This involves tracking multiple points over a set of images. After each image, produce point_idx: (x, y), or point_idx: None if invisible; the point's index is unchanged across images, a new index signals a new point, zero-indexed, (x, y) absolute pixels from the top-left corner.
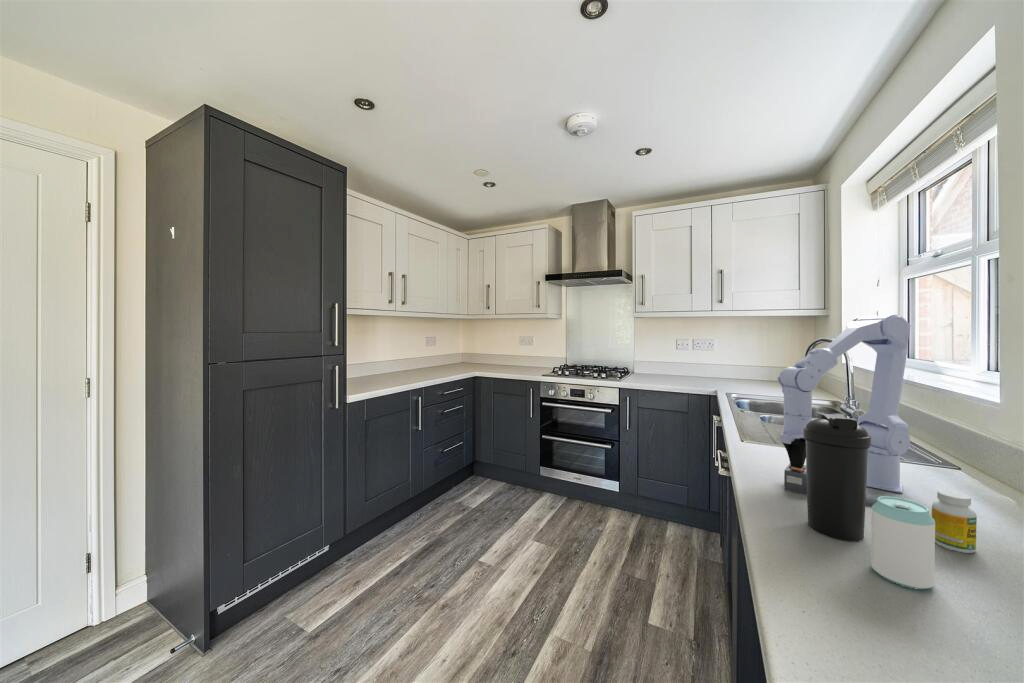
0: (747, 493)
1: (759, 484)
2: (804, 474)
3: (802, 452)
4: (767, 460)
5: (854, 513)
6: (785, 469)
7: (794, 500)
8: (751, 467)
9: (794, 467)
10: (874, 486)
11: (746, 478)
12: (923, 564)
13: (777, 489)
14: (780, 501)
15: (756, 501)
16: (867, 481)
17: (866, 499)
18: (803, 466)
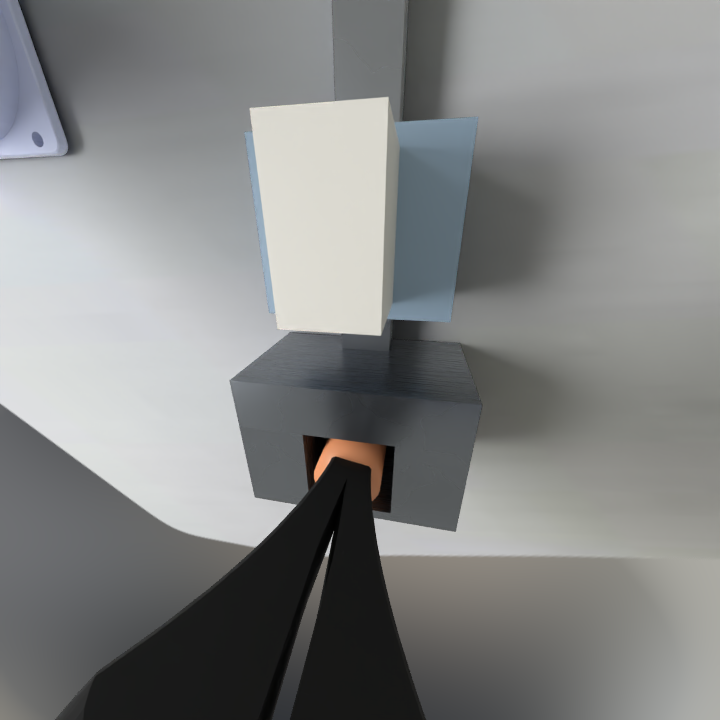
0: (597, 545)
1: None
2: (473, 443)
3: (398, 638)
4: (118, 484)
5: None
6: (438, 526)
7: (584, 405)
8: (248, 525)
9: (371, 493)
10: (29, 53)
11: (396, 541)
12: None
13: None
14: (640, 452)
15: (699, 525)
16: (2, 95)
17: (403, 40)
18: (277, 445)
